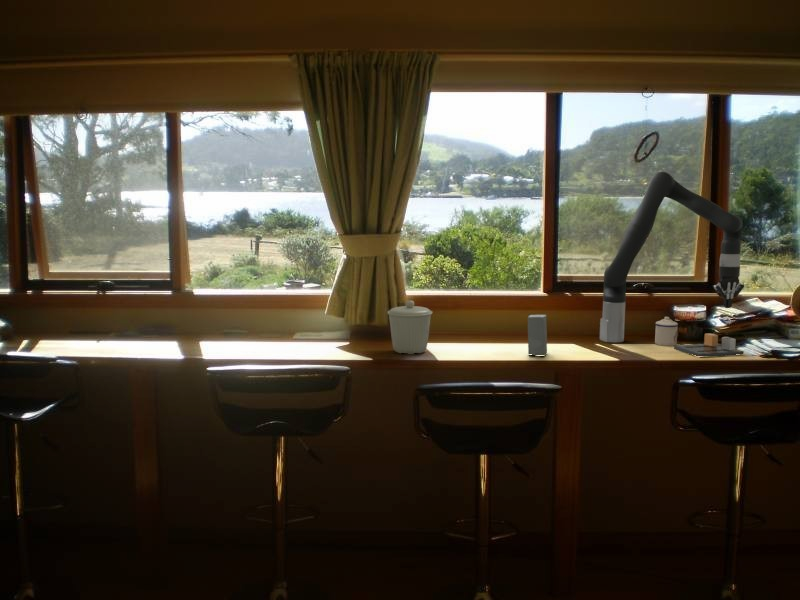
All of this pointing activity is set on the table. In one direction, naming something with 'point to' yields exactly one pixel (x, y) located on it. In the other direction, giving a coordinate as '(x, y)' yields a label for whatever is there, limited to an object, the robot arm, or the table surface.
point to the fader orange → (711, 339)
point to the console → (706, 350)
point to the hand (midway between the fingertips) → (727, 307)
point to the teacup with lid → (666, 332)
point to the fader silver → (728, 343)
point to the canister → (409, 328)
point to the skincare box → (537, 334)
